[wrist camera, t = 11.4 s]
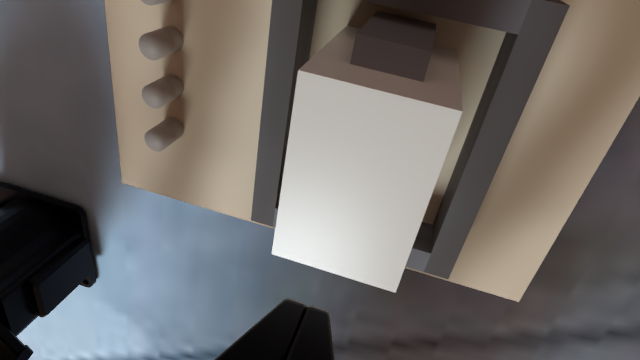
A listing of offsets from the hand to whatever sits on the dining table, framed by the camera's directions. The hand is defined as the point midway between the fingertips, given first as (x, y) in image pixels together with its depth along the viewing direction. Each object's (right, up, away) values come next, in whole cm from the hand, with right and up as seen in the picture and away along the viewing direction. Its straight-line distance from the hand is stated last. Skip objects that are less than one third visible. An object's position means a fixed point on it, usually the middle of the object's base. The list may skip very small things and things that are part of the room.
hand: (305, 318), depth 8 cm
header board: (+1, +6, +10) cm, 12 cm away
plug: (+3, +5, +9) cm, 10 cm away
